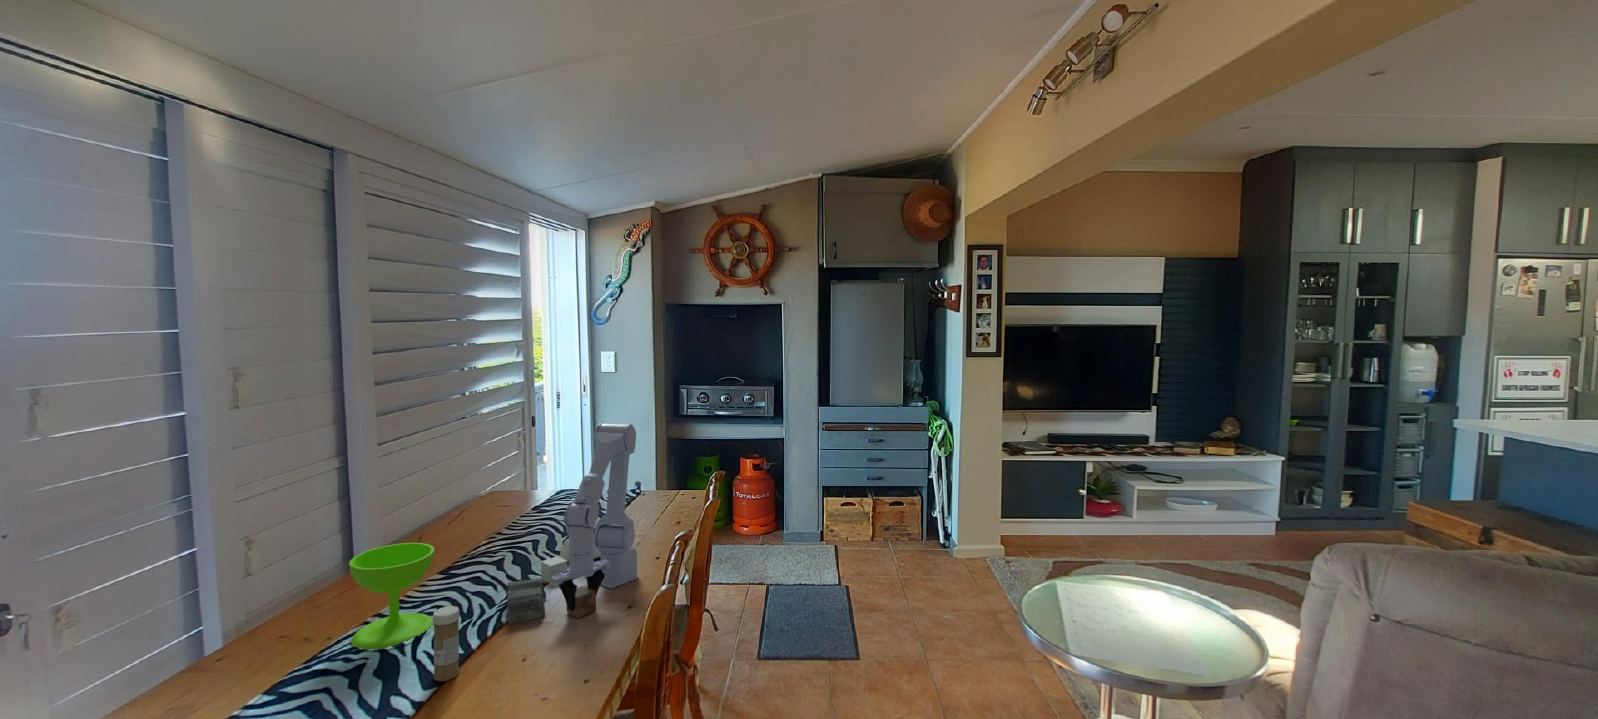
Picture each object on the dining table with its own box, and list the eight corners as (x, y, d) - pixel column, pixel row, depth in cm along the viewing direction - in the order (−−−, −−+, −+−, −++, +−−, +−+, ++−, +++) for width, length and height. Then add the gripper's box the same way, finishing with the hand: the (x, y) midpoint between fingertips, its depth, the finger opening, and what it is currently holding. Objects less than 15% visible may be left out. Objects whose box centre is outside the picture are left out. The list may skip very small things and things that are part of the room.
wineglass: (451, 622, 141) (450, 548, 140) (385, 657, 126) (383, 574, 125) (402, 611, 146) (401, 539, 145) (332, 643, 131) (331, 563, 130)
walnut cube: (585, 604, 151) (585, 585, 150) (596, 610, 147) (596, 590, 147) (566, 611, 147) (566, 591, 146) (577, 617, 144) (577, 597, 143)
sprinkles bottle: (430, 676, 119) (429, 610, 119) (454, 666, 123) (454, 602, 122) (438, 685, 116) (437, 618, 116) (463, 675, 120) (463, 610, 119)
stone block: (545, 594, 157) (545, 574, 157) (548, 618, 144) (548, 597, 144) (507, 600, 154) (507, 580, 153) (507, 625, 141) (507, 603, 140)
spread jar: (609, 558, 181) (610, 521, 181) (578, 571, 172) (578, 531, 171) (584, 550, 188) (584, 514, 187) (552, 561, 178) (552, 523, 178)
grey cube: (557, 573, 170) (557, 556, 170) (567, 578, 167) (567, 560, 167) (541, 578, 166) (541, 561, 166) (550, 583, 163) (550, 566, 163)
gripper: (562, 564, 138) (562, 621, 139) (616, 547, 149) (616, 600, 150) (546, 556, 143) (546, 611, 143) (600, 540, 154) (600, 591, 155)
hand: (581, 605), depth 147 cm, fingers closed on walnut cube, 5 cm apart
